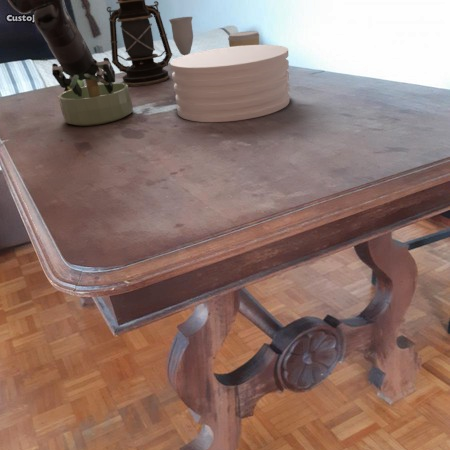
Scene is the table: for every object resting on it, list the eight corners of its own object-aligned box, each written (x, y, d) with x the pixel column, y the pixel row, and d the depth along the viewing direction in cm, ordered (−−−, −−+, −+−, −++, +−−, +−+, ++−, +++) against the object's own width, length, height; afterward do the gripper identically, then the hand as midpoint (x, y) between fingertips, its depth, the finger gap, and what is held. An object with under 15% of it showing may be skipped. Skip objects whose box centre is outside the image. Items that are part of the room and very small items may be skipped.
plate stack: (200, 94, 133) (194, 49, 127) (299, 90, 125) (298, 41, 118) (159, 123, 112) (150, 70, 105) (275, 120, 103) (273, 63, 97)
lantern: (114, 89, 153) (89, -23, 136) (118, 80, 166) (96, -23, 148) (176, 81, 153) (159, -31, 136) (175, 73, 166) (160, -31, 149)
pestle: (87, 119, 121) (75, 72, 114) (89, 113, 125) (78, 68, 119) (109, 115, 121) (98, 68, 115) (110, 110, 125) (100, 65, 119)
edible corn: (86, 87, 161) (82, 72, 159) (80, 99, 145) (76, 83, 142) (71, 89, 161) (67, 74, 158) (64, 101, 145) (59, 86, 142)
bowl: (61, 131, 116) (53, 103, 112) (69, 114, 130) (62, 88, 126) (133, 120, 117) (127, 92, 113) (133, 104, 131) (128, 79, 127)
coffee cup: (236, 74, 152) (233, 32, 145) (264, 73, 149) (262, 30, 142) (227, 81, 145) (223, 36, 138) (257, 79, 142) (254, 34, 135)
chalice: (177, 86, 147) (167, 19, 136) (199, 82, 147) (191, 16, 137) (180, 90, 141) (170, 20, 130) (202, 87, 141) (194, 17, 131)
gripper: (100, 28, 105) (122, 75, 121) (38, 36, 106) (68, 81, 122) (100, 59, 104) (122, 102, 120) (37, 66, 105) (68, 107, 121)
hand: (95, 91), depth 121 cm, fingers open, 7 cm apart
